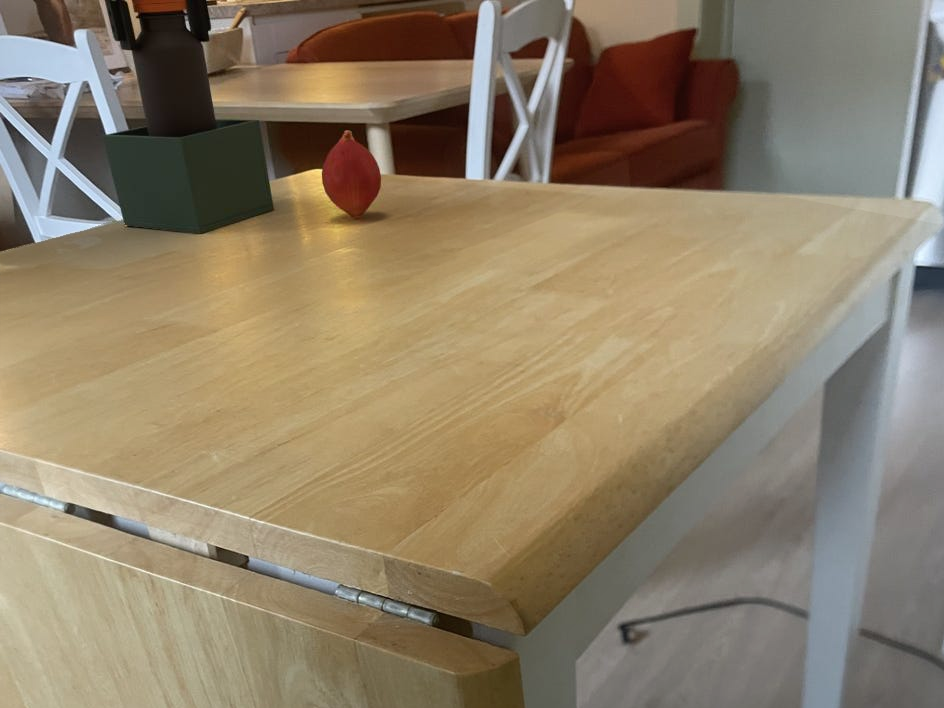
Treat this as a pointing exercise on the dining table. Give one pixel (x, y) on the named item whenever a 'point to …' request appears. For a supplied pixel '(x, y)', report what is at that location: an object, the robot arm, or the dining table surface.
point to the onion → (351, 176)
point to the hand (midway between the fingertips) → (165, 43)
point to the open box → (190, 177)
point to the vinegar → (171, 71)
